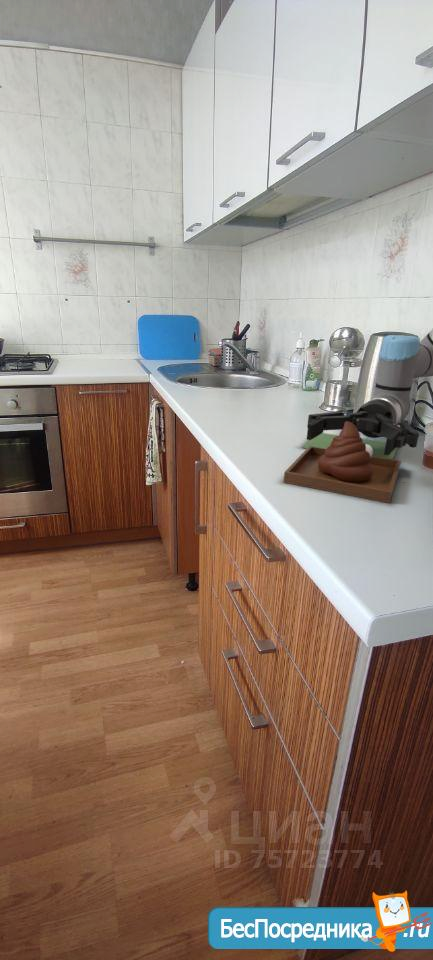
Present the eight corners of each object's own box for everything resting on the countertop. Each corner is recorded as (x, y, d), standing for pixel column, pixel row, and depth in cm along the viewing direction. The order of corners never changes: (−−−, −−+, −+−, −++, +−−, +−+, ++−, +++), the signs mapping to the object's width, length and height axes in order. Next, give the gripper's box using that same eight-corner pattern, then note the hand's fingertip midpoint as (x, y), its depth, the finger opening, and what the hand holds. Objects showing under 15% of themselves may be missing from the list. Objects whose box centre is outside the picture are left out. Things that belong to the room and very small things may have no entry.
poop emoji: (307, 469, 84) (313, 418, 81) (339, 461, 89) (345, 413, 85) (350, 487, 77) (359, 432, 73) (382, 478, 81) (392, 426, 78)
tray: (398, 470, 87) (400, 460, 86) (389, 503, 72) (391, 492, 72) (308, 454, 93) (309, 445, 93) (283, 482, 79) (284, 472, 78)
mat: (397, 445, 102) (397, 444, 102) (391, 462, 91) (392, 461, 91) (316, 433, 109) (316, 432, 109) (302, 447, 98) (302, 446, 98)
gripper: (439, 445, 92) (419, 476, 75) (318, 424, 104) (278, 446, 87) (447, 407, 89) (429, 431, 72) (322, 390, 101) (282, 406, 84)
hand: (346, 439), depth 79 cm, fingers open, 13 cm apart
